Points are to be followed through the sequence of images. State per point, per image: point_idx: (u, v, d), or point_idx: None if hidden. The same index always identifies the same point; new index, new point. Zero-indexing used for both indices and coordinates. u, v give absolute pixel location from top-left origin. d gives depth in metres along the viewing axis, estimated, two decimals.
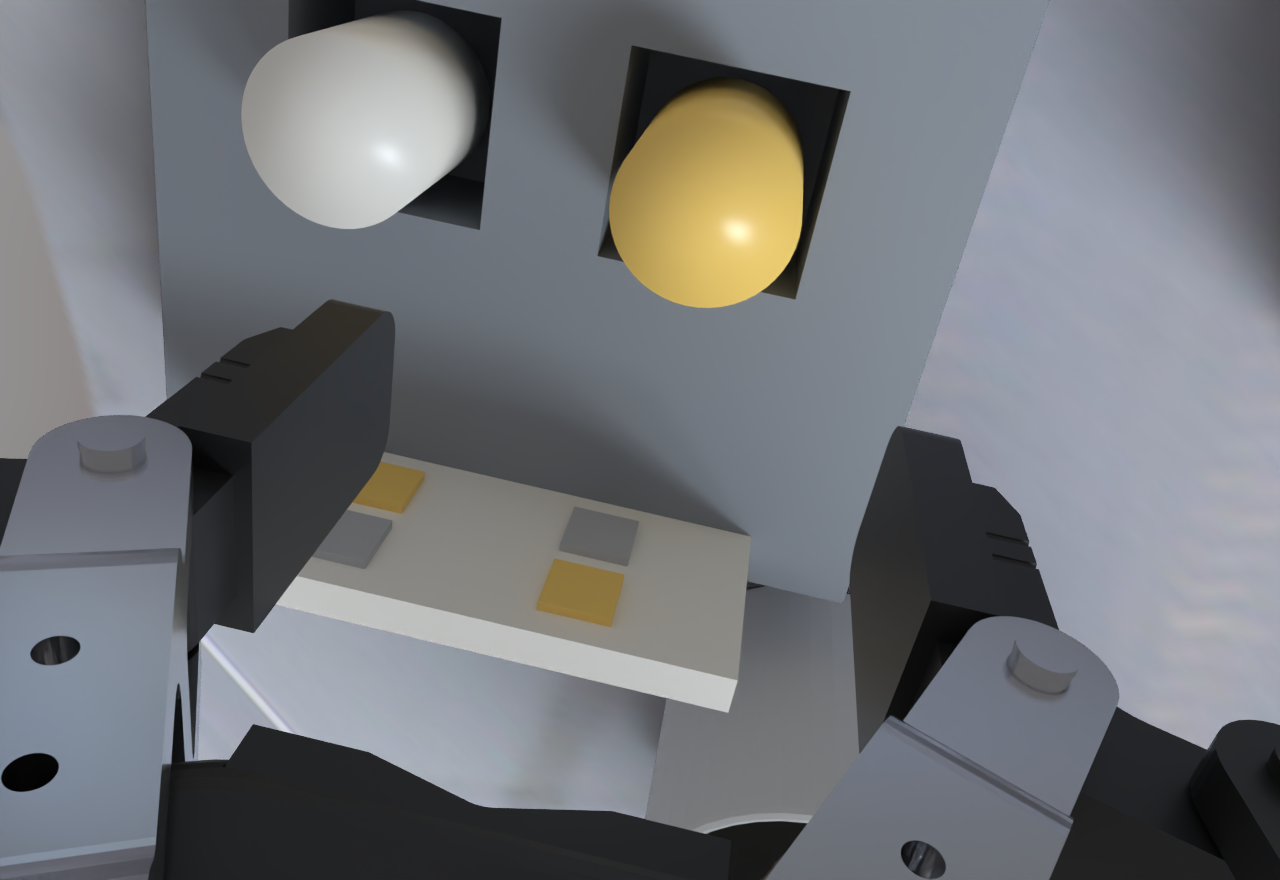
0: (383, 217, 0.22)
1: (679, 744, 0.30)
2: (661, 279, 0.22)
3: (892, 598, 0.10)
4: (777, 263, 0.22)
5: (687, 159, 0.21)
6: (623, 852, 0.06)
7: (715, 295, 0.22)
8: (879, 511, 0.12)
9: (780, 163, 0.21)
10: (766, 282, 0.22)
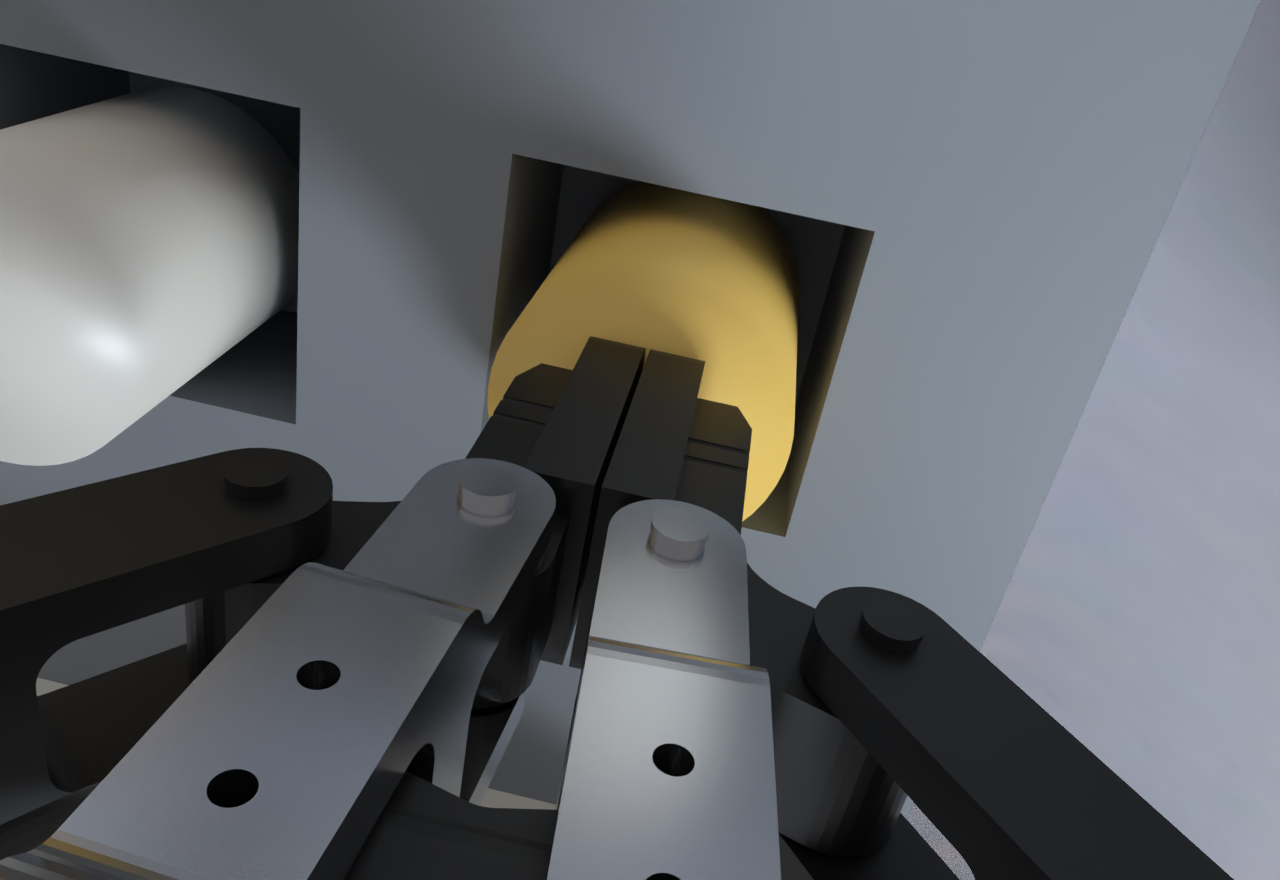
0: (87, 450, 0.13)
1: None
2: None
3: None
4: (755, 491, 0.14)
5: (608, 335, 0.13)
6: None
7: None
8: None
9: (758, 344, 0.13)
10: None
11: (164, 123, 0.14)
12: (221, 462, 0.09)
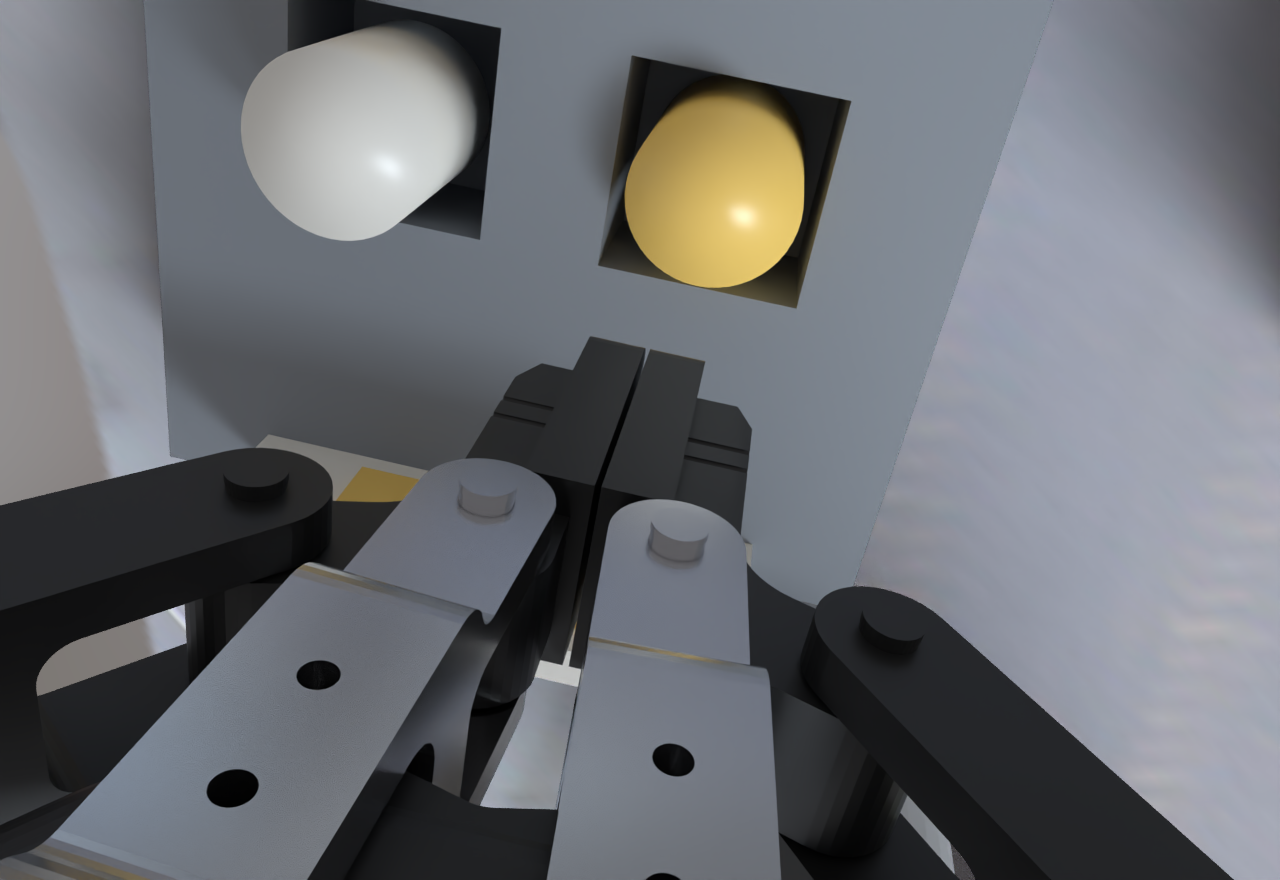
0: (383, 229, 0.22)
1: None
2: (673, 261, 0.24)
3: None
4: (780, 245, 0.23)
5: (697, 149, 0.23)
6: None
7: (723, 275, 0.24)
8: None
9: (783, 152, 0.22)
10: (770, 263, 0.24)
11: (415, 38, 0.24)
12: (221, 462, 0.09)
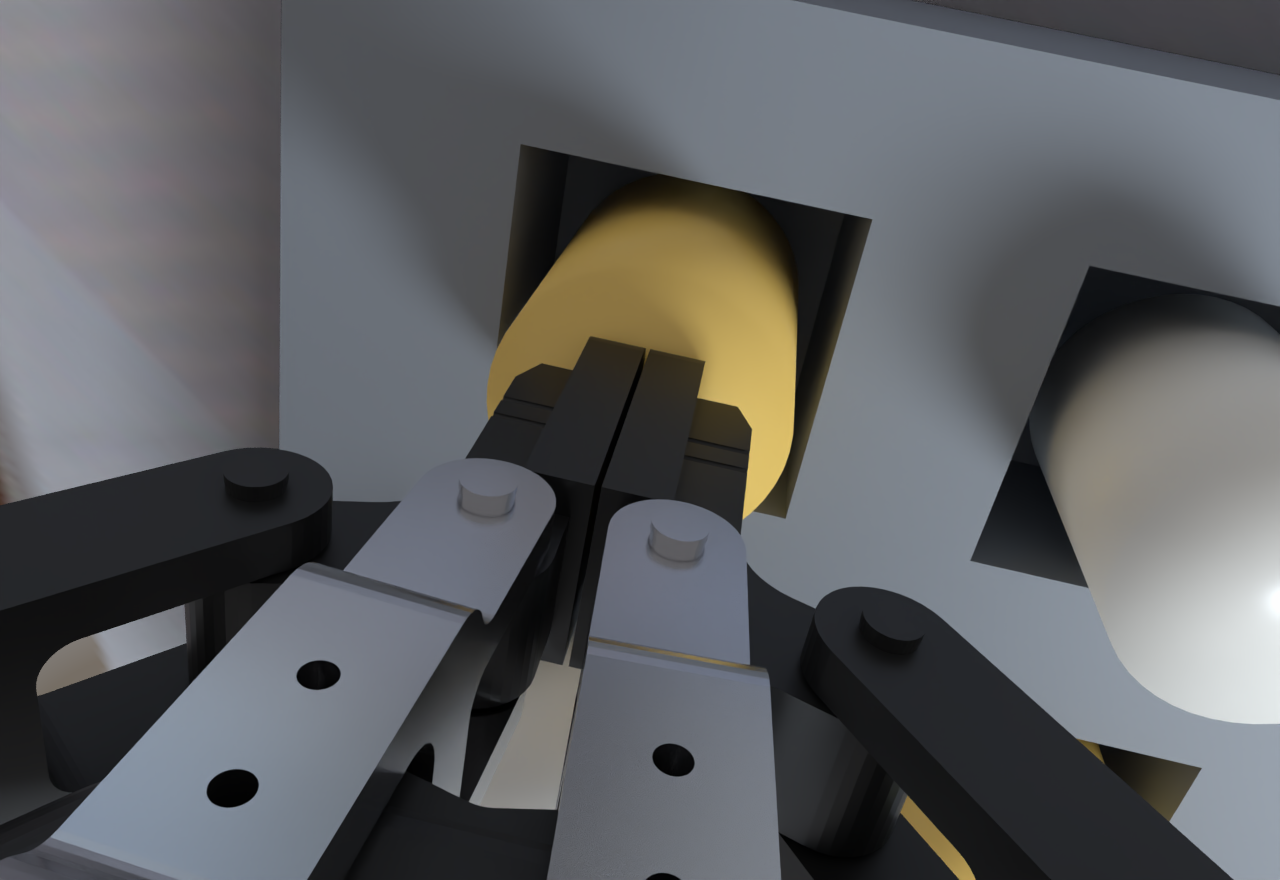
0: None
1: None
2: None
3: None
4: None
5: None
6: None
7: None
8: None
9: None
10: None
11: None
12: (221, 462, 0.09)
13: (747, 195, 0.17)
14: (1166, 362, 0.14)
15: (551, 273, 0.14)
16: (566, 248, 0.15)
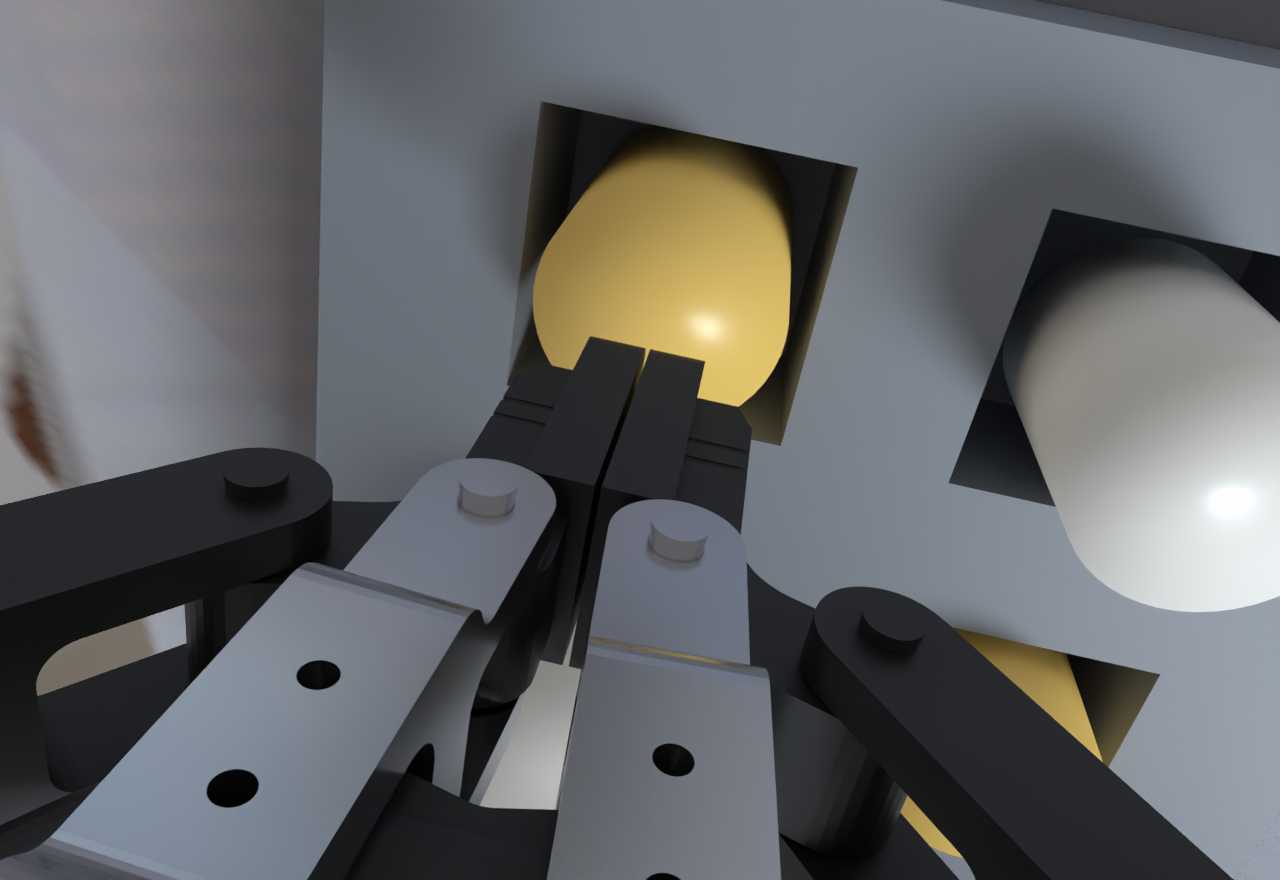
0: None
1: None
2: (937, 835, 0.20)
3: None
4: None
5: None
6: None
7: None
8: None
9: None
10: None
11: None
12: (221, 462, 0.09)
13: None
14: (1121, 294, 0.16)
15: (585, 195, 0.17)
16: (594, 178, 0.18)
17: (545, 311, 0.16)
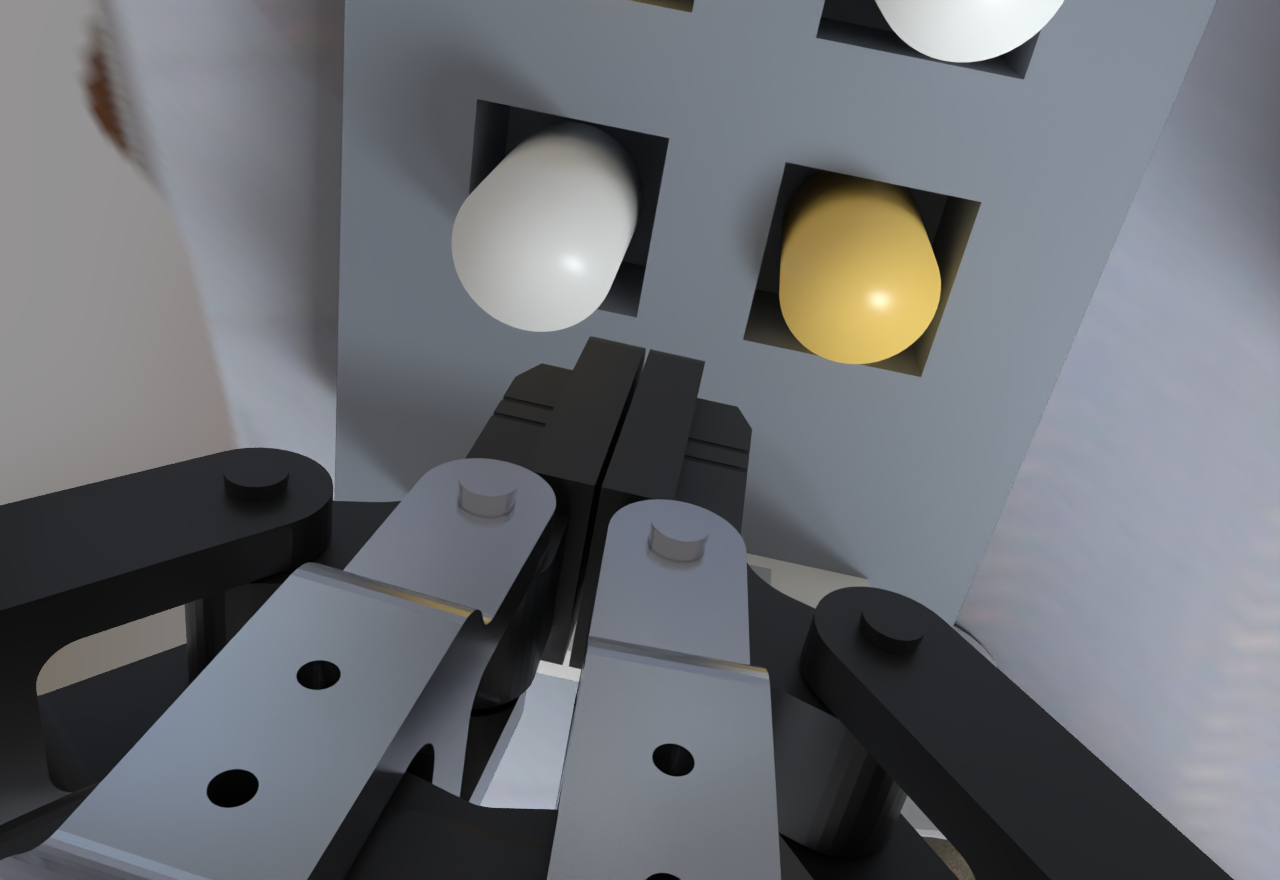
0: (573, 322, 0.25)
1: None
2: (819, 342, 0.27)
3: None
4: (917, 329, 0.26)
5: (848, 248, 0.26)
6: None
7: (864, 354, 0.27)
8: None
9: (925, 251, 0.25)
10: (907, 344, 0.27)
11: (590, 146, 0.26)
12: (221, 462, 0.09)
13: None
14: None
15: None
16: None
17: None
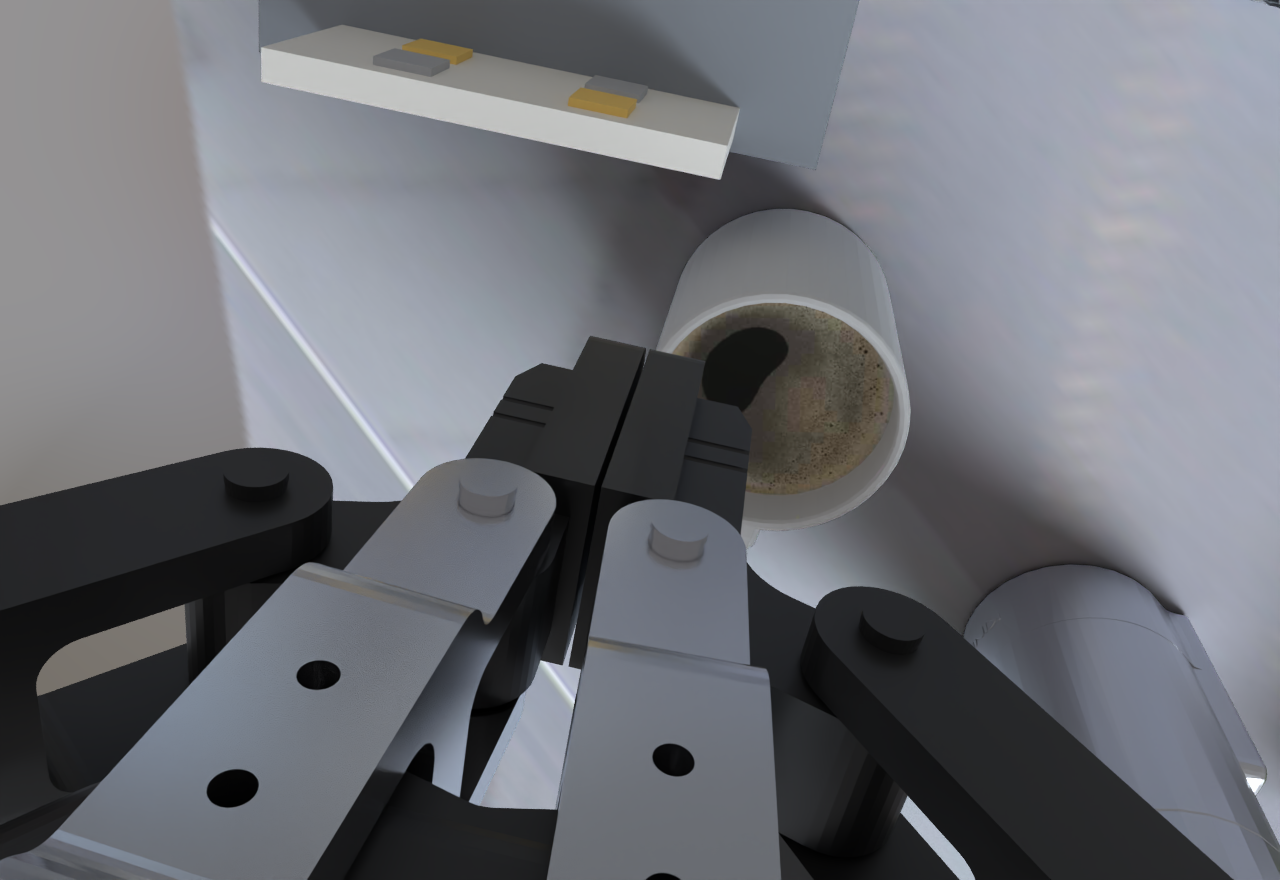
0: None
1: (681, 299, 0.37)
2: None
3: None
4: None
5: None
6: None
7: None
8: None
9: None
10: None
11: None
12: (221, 462, 0.09)
13: None
14: None
15: None
16: None
17: None
